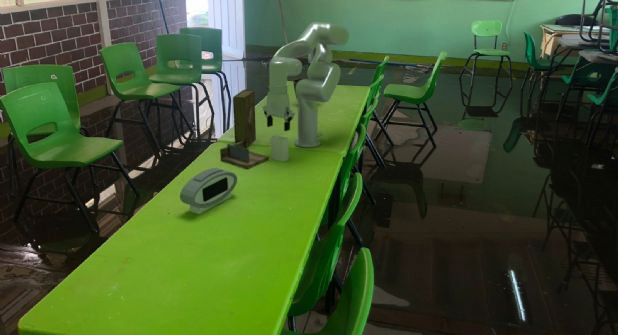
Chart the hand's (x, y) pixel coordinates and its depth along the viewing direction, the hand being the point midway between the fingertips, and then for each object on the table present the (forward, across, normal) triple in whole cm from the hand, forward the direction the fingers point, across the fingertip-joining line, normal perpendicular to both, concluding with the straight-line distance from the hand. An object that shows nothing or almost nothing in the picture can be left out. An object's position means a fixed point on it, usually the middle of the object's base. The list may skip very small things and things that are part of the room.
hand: (278, 128), depth 210 cm
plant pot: (+12, -45, +81) cm, 94 cm away
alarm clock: (+16, +9, -49) cm, 52 cm away
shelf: (+15, -11, -10) cm, 21 cm away
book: (+14, -26, +7) cm, 31 cm away
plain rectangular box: (+14, 0, +1) cm, 15 cm away
